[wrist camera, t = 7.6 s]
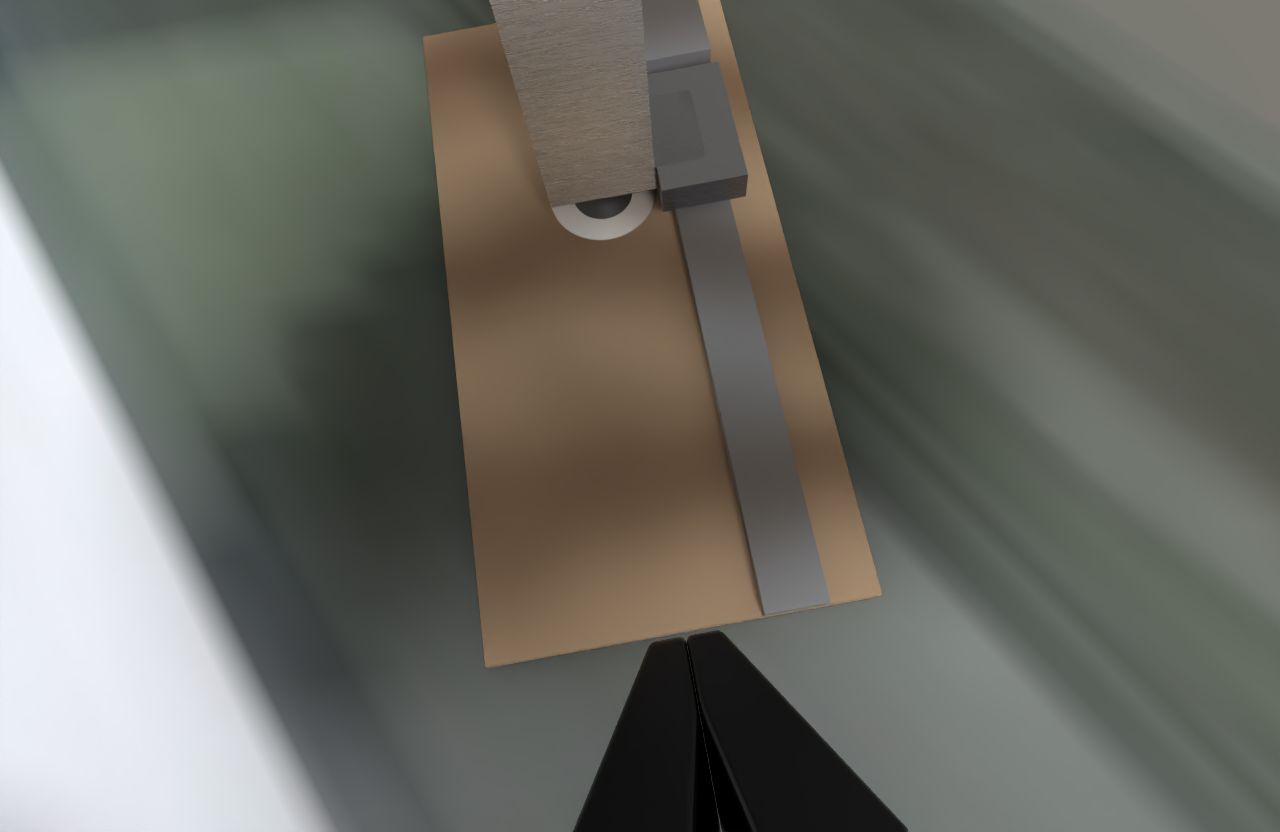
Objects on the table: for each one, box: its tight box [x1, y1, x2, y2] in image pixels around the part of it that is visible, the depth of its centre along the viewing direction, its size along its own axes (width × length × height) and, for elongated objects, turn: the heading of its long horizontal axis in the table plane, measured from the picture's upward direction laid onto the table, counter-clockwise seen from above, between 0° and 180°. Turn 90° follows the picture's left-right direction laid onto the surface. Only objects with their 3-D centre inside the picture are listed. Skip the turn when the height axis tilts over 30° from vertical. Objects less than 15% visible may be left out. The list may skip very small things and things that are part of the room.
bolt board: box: [423, 0, 882, 668], centre depth 16 cm, size 20×10×16 cm, turn 10°
